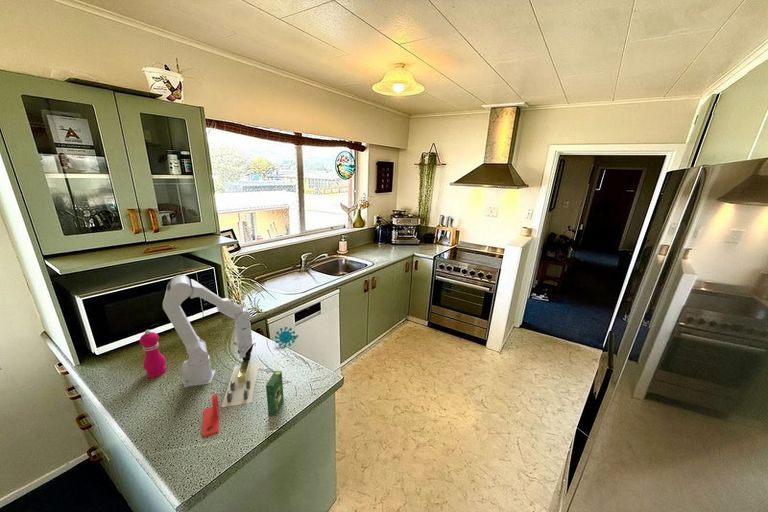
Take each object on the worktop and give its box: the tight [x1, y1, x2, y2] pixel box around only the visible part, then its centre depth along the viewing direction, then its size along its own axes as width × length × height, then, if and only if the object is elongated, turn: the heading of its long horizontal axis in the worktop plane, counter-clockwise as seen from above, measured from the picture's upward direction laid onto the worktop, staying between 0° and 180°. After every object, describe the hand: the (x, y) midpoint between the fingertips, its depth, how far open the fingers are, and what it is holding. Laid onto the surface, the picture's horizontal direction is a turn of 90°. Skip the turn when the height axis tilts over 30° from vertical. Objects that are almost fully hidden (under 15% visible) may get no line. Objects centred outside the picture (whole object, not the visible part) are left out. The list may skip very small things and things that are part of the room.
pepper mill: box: [139, 329, 167, 378], centre depth 117 cm, size 7×7×20 cm
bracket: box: [201, 393, 220, 438], centre depth 98 cm, size 12×4×8 cm, turn 28°
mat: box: [221, 362, 260, 408], centre depth 116 cm, size 10×23×1 cm, turn 15°
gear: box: [274, 326, 299, 348], centre depth 143 cm, size 11×6×10 cm
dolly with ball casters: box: [227, 378, 251, 402], centre depth 110 cm, size 7×8×3 cm
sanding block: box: [238, 360, 251, 383], centre depth 120 cm, size 3×10×3 cm, turn 15°
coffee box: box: [265, 370, 285, 417], centre depth 104 cm, size 8×3×13 cm, turn 178°
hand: (247, 361), depth 127 cm, fingers closed
